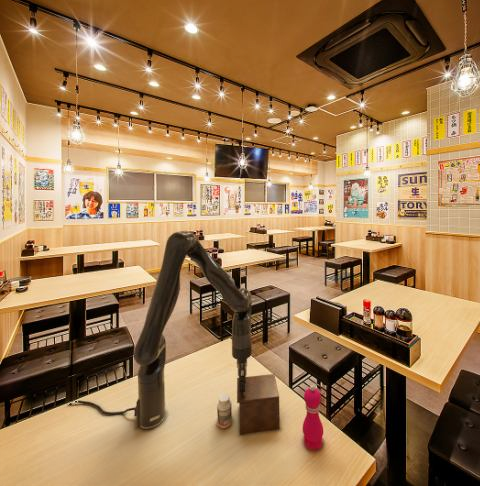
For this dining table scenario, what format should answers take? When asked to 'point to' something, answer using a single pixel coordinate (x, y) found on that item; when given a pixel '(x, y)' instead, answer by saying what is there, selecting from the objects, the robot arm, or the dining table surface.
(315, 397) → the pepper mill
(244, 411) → the chest
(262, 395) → the lid
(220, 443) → the dining table surface
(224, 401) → the pill bottle
